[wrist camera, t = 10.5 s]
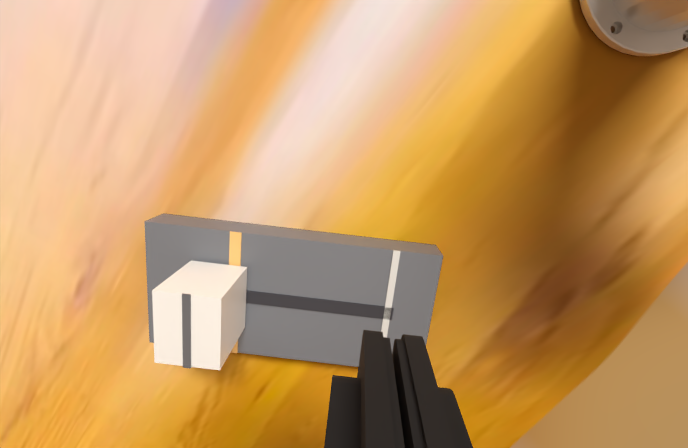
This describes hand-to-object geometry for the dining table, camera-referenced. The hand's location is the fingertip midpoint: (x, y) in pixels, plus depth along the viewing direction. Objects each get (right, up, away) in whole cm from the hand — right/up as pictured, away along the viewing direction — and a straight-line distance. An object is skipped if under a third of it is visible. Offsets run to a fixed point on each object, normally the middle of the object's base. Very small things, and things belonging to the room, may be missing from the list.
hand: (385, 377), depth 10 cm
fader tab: (-12, -2, +21) cm, 25 cm away
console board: (-6, -2, +25) cm, 25 cm away
